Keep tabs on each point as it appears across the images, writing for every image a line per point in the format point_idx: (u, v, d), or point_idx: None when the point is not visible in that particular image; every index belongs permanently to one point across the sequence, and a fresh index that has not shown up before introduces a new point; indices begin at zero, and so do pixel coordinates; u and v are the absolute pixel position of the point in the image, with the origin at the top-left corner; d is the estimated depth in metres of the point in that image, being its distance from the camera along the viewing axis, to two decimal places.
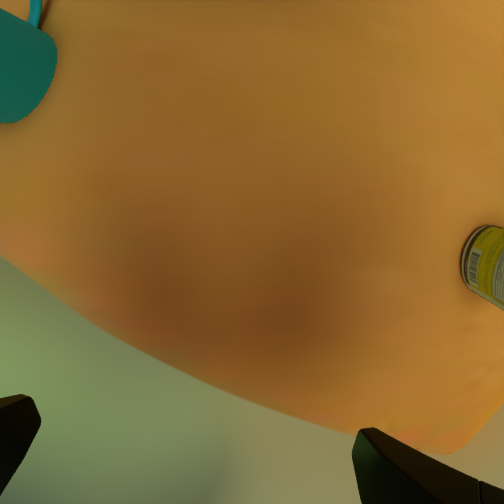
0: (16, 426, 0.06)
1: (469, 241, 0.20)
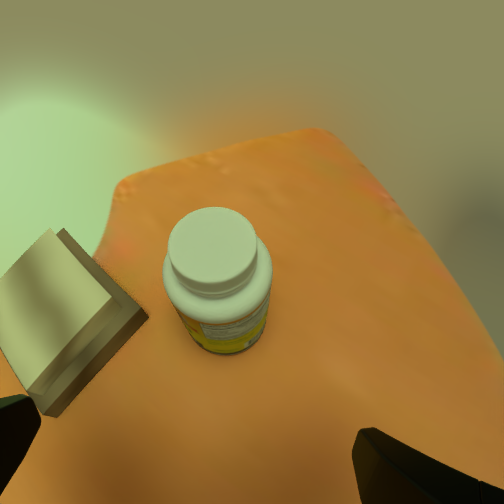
0: (16, 426, 0.06)
1: (239, 352, 0.21)
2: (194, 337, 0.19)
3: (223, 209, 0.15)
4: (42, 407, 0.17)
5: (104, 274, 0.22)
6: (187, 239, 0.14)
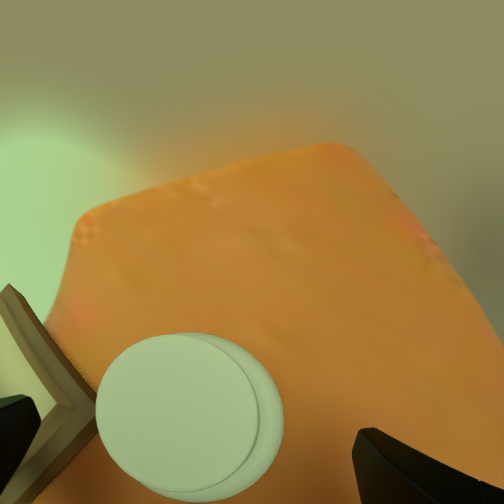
0: (16, 426, 0.06)
1: None
2: None
3: (193, 342, 0.07)
4: None
5: (53, 357, 0.15)
6: (127, 404, 0.06)
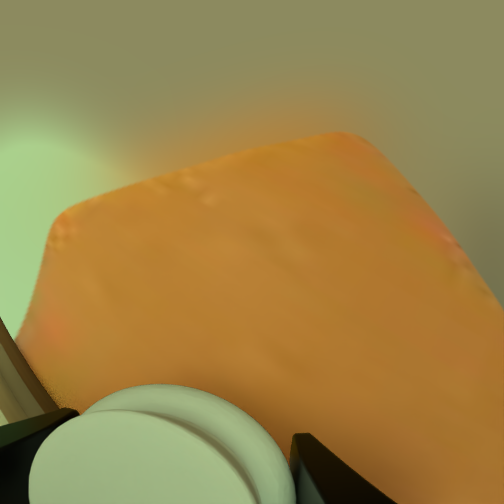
0: None
1: None
2: None
3: (156, 427, 0.04)
4: None
5: (20, 382, 0.11)
6: (67, 503, 0.03)
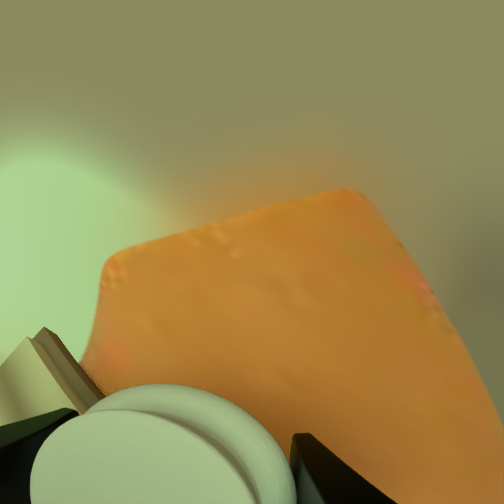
0: None
1: None
2: None
3: (156, 427, 0.04)
4: None
5: (95, 399, 0.17)
6: (68, 502, 0.03)
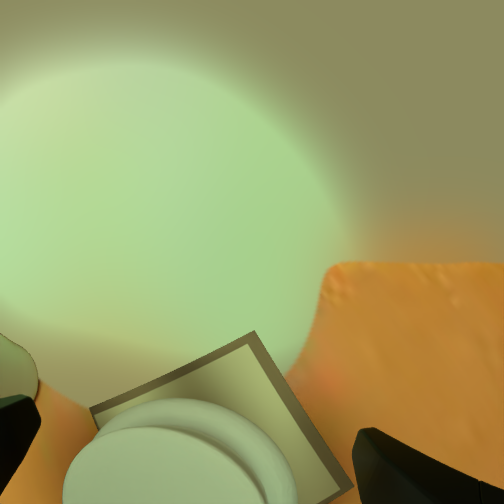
0: (16, 426, 0.06)
1: None
2: None
3: (179, 441, 0.05)
4: None
5: (314, 432, 0.15)
6: None
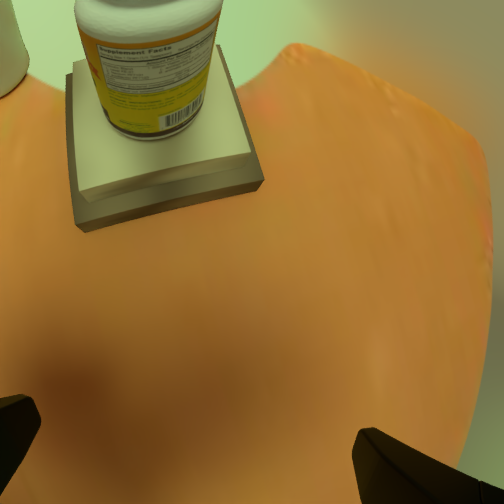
0: (16, 426, 0.06)
1: (153, 138, 0.15)
2: (99, 98, 0.12)
3: None
4: (80, 216, 0.16)
5: (242, 119, 0.19)
6: None
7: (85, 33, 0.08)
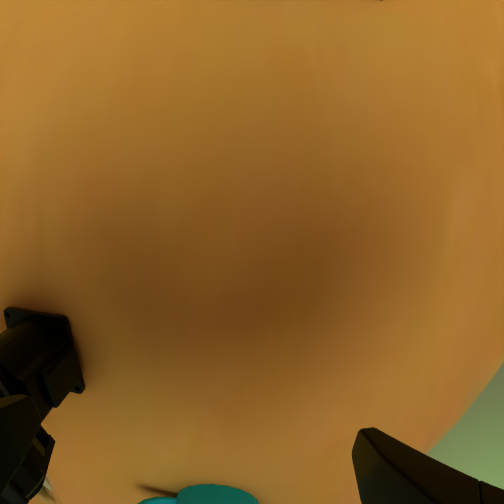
0: (16, 426, 0.06)
1: None
2: None
3: None
4: None
5: None
6: None
7: None
